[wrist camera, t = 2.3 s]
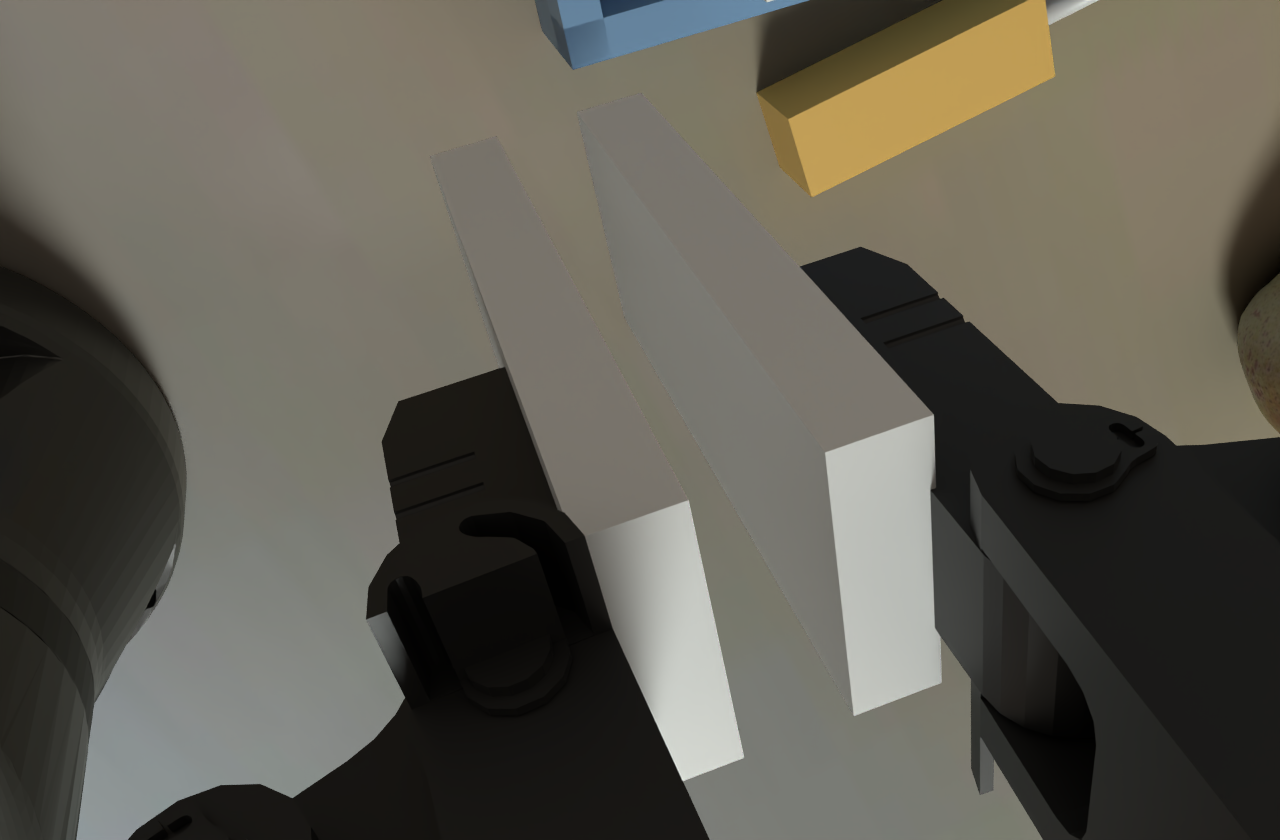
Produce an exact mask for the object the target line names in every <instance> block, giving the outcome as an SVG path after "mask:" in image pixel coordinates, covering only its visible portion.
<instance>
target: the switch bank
mask: <svg viewBox="0 0 1280 840" xmlns="http://www.w3.org/2000/svg"><path fill="white" fill-rule="evenodd" d="M805 1H808V0H773V1H770V2H765V1H764V0H535V3H536V7H537V11H538V15H539V19H540V23H541V28H542V31H543V33H544V34H545V35H546V36H547V38H548V39H549V40H550V41H551V43H552V44H553V45H554V46H555V48H556V49H557V50H558V51H559V53H560V54H561V55H562V57H563V58H564V59H565V60H566V62H567V63H568V64H569V65H570V67H571V68H572V69H573V70H574V69H577V68H581V67H584V66H588V65H591V64H594V63H598V62H601V61H605V60H608V59H611V58H615V57H618V56H622V55H625V54H628V53H632V52H635V51H639V50H642V49H645V48H649V47H652V46H656V45H659V44H662V43H666V42H669V41H673V40H676V39H679V38H683V37H686V36H689V35H693V34H696V33H700V32H703V31H706V30H710V29H713V28H717V27H720V26H723V25H727V24H730V23H734V22H737V21H740V20H744V19H747V18H751V17H754V16H757V15H761V14H764V13H768V12H771V11H774V10H778V9H781V8H785V7H788V6H791V5H795V4H798V3H802V2H805Z"/></svg>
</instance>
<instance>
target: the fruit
mask: <svg viewBox="0 0 1280 840" xmlns="http://www.w3.org/2000/svg"><path fill="white" fill-rule="evenodd" d="M1237 344H1238V353H1239V357H1240V362H1241V365H1242V368H1243V371H1244V374H1245V377H1246V379H1247V382H1248V385H1249V387H1250V390H1251V392H1252V395H1253V398H1254V400H1255V402H1256V404H1257V405H1258V407H1259V409H1260V411H1261V413H1262V414H1263V415H1264V417H1265V418H1266V419H1267V421H1268V422H1269V423H1270V424H1271V425H1272V426H1273V427H1274V428H1275V429H1276V430H1277V431H1278V432H1279V433H1280V273H1279V274H1278V275H1277V276H1276V277H1275V278H1274V279H1273V280H1272V281H1271V282H1270V283H1268V284H1267V285H1266V286H1265V287H1263V288H1262V289H1261V290H1260V291H1259V292H1258V293H1257V294H1256V295H1255V296H1254V298H1253V299H1252V300H1251V301H1250V303H1249V304H1248V306H1247V307H1246V309H1245V311H1244V312H1243V314H1242V315H1241V319H1240V323H1239V327H1238V340H1237Z"/></svg>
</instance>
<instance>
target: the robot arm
mask: <svg viewBox="0 0 1280 840" xmlns="http://www.w3.org/2000/svg"><path fill="white" fill-rule="evenodd" d="M577 115H578V120H579V124H580V128H581V133H582V137H583V141H584V145H585V150H586V154H587V158H588V163H589V167H590V171H591V176H592V180H593V184H594V189H595V193H596V197H597V201H598V206H599V210H600V214H601V219H602V223H603V227H604V232H605V236H606V240H607V245H608V249H609V253H610V257H611V262H612V266H613V270H614V275H615V279H616V283H617V288H618V292H619V296H620V300H621V305H622V309H623V313H624V318H625V319H626V321H627V323H628V325H629V326H630V328H631V330H632V332H633V333H634V335H635V337H636V338H637V340H638V342H639V344H640V345H641V347H642V349H643V351H644V352H645V354H646V356H647V358H648V359H649V361H650V363H651V365H652V366H653V368H654V370H655V372H656V373H657V375H658V377H659V378H660V380H661V382H662V384H663V385H664V387H665V389H666V391H667V392H668V394H669V396H670V398H671V399H672V401H673V403H674V405H675V406H676V408H677V410H678V411H679V413H680V415H681V417H682V418H683V420H684V422H685V424H686V425H687V427H688V429H689V431H690V432H691V434H692V436H693V438H694V439H695V441H696V443H697V445H698V446H699V448H700V450H701V451H702V453H703V455H704V457H705V458H706V460H707V462H708V464H709V465H710V467H711V469H712V471H713V472H714V474H715V476H716V478H717V479H718V481H719V483H720V484H721V486H722V488H723V490H724V491H725V493H726V495H727V497H728V498H729V500H730V502H731V504H732V505H733V507H734V509H735V511H736V512H737V514H738V516H739V517H740V519H741V521H742V523H743V524H744V526H745V528H746V530H747V531H748V533H749V535H750V537H751V538H752V540H753V542H754V544H755V545H756V547H757V549H758V551H759V552H760V554H761V556H762V557H763V559H764V561H765V563H766V564H767V566H768V568H769V570H770V571H771V573H772V575H773V577H774V578H775V580H776V582H777V584H778V585H779V587H780V589H781V590H782V592H783V594H784V596H785V597H786V599H787V601H788V603H789V604H790V606H791V608H792V610H793V611H794V613H795V615H796V617H797V618H798V620H799V622H800V624H801V625H802V627H803V629H804V630H805V632H806V634H807V636H808V637H809V639H810V641H811V643H812V644H813V646H814V648H815V650H816V651H817V653H818V655H819V657H820V658H821V660H822V662H823V663H824V665H825V667H826V669H827V670H828V672H829V674H830V676H831V677H832V679H833V681H834V683H835V684H836V686H837V688H838V690H839V691H840V693H841V695H842V696H843V698H844V700H845V702H846V703H847V705H848V707H849V709H850V710H851V712H852V714H853V716H855V715H858V714H860V713H863V712H866V711H868V710H871V709H874V708H876V707H879V706H882V705H884V704H887V703H889V702H892V701H895V700H897V699H900V698H903V697H905V696H908V695H910V694H913V693H916V692H918V691H921V690H924V689H926V688H929V687H931V686H934V685H937V684H939V683H942V676H941V642H940V636H941V637H942V639H943V640H944V642H945V643H946V645H947V646H948V647H949V649H950V650H951V652H952V653H953V654H954V656H955V657H956V659H957V660H958V661H959V663H960V664H961V666H962V667H963V668H964V670H965V671H966V673H967V674H968V675H969V677H970V678H971V769H972V772H973V775H974V778H975V781H976V784H977V787H978V790H979V793H980V795H981V794H984V793H987V792H990V791H993V777H994V760H995V761H996V763H997V765H998V766H999V768H1000V770H1001V771H1002V773H1003V774H1004V776H1005V778H1006V779H1007V781H1008V783H1009V784H1010V786H1011V788H1012V789H1013V791H1014V792H1015V794H1016V796H1017V797H1018V799H1019V801H1020V802H1021V804H1022V806H1023V807H1024V809H1025V810H1026V812H1027V814H1028V815H1029V817H1030V819H1031V820H1032V822H1033V824H1034V825H1035V827H1036V829H1037V830H1038V832H1039V833H1040V835H1041V837H1042V838H1043V840H1280V437H1278V438H1268V439H1258V440H1248V441H1238V442H1228V443H1218V444H1208V445H1184V446H1176V445H1175V444H1174V443H1173V442H1172V441H1171V440H1169V439H1168V438H1167V437H1166V436H1165V435H1163V434H1162V433H1160V432H1159V431H1157V430H1156V429H1154V428H1153V427H1151V426H1150V425H1148V424H1146V423H1145V422H1143V421H1142V420H1140V419H1139V418H1137V417H1135V416H1132V415H1128V414H1125V413H1122V412H1118V411H1115V410H1112V409H1109V408H1105V407H1102V406H1096V405H1080V404H1064V403H1057V402H1056V401H1055V400H1054V399H1053V398H1052V397H1051V396H1050V395H1049V394H1048V393H1047V392H1045V391H1044V390H1043V389H1042V388H1041V387H1040V386H1039V385H1038V384H1037V383H1036V382H1035V381H1034V380H1032V379H1031V378H1030V377H1029V376H1028V375H1027V374H1026V373H1025V372H1024V371H1023V370H1022V369H1020V368H1019V367H1018V366H1017V365H1016V364H1015V363H1014V362H1013V361H1012V360H1011V359H1010V358H1008V357H1007V356H1006V355H1005V354H1004V353H1003V352H1002V351H1001V350H1000V349H999V348H998V347H997V346H995V345H994V344H993V343H992V342H991V341H990V340H989V339H988V338H987V337H986V336H985V335H983V334H982V333H981V332H980V331H979V330H978V329H977V328H976V327H975V326H974V325H973V324H972V323H970V322H966V323H965V322H964V319H963V315H962V314H961V313H960V312H958V311H957V310H956V309H955V308H954V307H953V306H952V305H951V304H950V303H949V302H948V301H947V300H945V299H944V298H942V299H940V298H939V296H938V292H937V291H936V290H935V289H933V288H932V287H931V286H930V285H929V284H928V283H927V282H926V281H925V280H924V279H923V278H921V277H920V276H919V275H918V274H917V273H916V272H915V271H914V270H913V269H912V268H911V267H910V266H908V265H907V264H905V263H902V262H900V261H897V260H894V259H892V258H889V257H886V256H884V255H881V254H878V253H876V252H873V251H870V250H868V249H865V248H862V247H859V248H855V249H852V250H849V251H846V252H843V253H840V254H837V255H834V256H831V257H828V258H825V259H822V260H819V261H816V262H812V263H809V264H806V265H803V266H800V267H799V266H798V264H797V263H796V262H795V261H794V260H793V259H792V258H791V257H790V256H789V255H788V253H787V252H786V251H785V250H784V249H783V248H782V247H781V246H780V245H779V244H778V242H777V241H776V240H775V239H774V238H773V237H772V236H771V235H770V234H769V233H768V231H767V230H766V229H765V228H764V227H763V226H762V225H761V224H760V223H759V222H758V220H757V219H756V218H755V217H754V216H753V215H752V214H751V213H750V212H749V211H748V209H747V208H746V207H745V206H744V205H743V204H742V203H741V202H740V201H739V199H738V198H737V197H736V196H735V195H734V194H733V193H732V192H731V191H730V190H729V188H728V187H727V186H726V185H725V184H724V183H723V182H722V181H721V180H720V179H719V177H718V176H717V175H716V174H715V173H714V172H713V171H712V170H711V169H710V168H709V166H708V165H707V164H706V163H705V162H704V161H703V160H702V159H701V158H700V157H699V155H698V154H697V153H696V152H695V151H694V150H693V149H692V148H691V147H690V146H689V144H688V143H687V142H686V141H685V140H684V139H683V138H682V137H681V136H680V135H679V133H678V132H677V131H676V130H675V129H674V128H673V127H672V126H671V125H670V124H669V122H668V121H667V120H666V119H665V118H664V117H663V116H662V115H661V114H660V113H659V111H658V110H657V109H656V108H655V107H654V106H653V105H652V104H651V103H650V101H649V100H648V99H647V98H646V97H645V96H644V95H643V94H642V93H638V94H635V95H632V96H628V97H625V98H622V99H618V100H615V101H612V102H608V103H605V104H602V105H598V106H595V107H592V108H588V109H585V110H582V111H578V112H577ZM430 158H431V161H432V165H433V168H434V171H435V174H436V177H437V180H438V183H439V186H440V189H441V192H442V195H443V198H444V201H445V204H446V207H447V211H448V214H449V217H450V220H451V223H452V226H453V229H454V232H455V235H456V238H457V241H458V244H459V247H460V250H461V253H462V256H463V260H464V263H465V266H466V269H467V272H468V275H469V278H470V281H471V284H472V287H473V290H474V293H475V296H476V299H477V302H478V306H479V309H480V312H481V315H482V318H483V321H484V324H485V327H486V330H487V333H488V336H489V339H490V342H491V345H492V348H493V351H494V355H495V358H496V361H497V363H498V366H499V369H496V370H493V371H490V372H487V373H484V374H481V375H478V376H475V377H472V378H469V379H466V380H463V381H460V382H456V383H453V384H450V385H447V386H444V387H441V388H438V389H435V390H432V391H429V392H426V393H423V394H420V395H417V396H414V397H410V398H407V399H404V400H401V401H398V404H397V406H396V409H395V411H394V413H393V416H392V418H391V421H390V423H389V425H388V428H387V430H386V433H385V435H384V437H383V440H382V446H383V452H384V458H385V463H386V469H387V475H388V480H389V483H390V486H391V487H390V491H391V497H392V503H393V508H394V513H395V516H396V519H397V520H396V525H397V531H398V537H399V542H400V544H398V545H397V546H396V547H395V548H394V549H393V550H392V551H391V552H390V553H389V554H387V555H386V557H385V559H384V561H383V563H382V564H381V566H380V568H379V570H378V571H377V573H376V575H375V577H374V578H373V580H372V582H371V584H370V586H369V588H368V601H367V615H366V620H367V622H368V624H369V626H370V628H371V630H372V632H373V634H374V636H375V638H376V640H377V642H378V644H379V646H380V648H381V650H382V652H383V654H384V656H385V658H386V660H387V662H388V664H389V666H390V668H391V670H392V672H393V674H394V676H395V678H396V680H397V682H398V684H399V686H400V688H401V690H402V692H403V694H404V696H405V699H404V701H403V702H402V704H401V706H400V708H399V710H398V711H397V713H396V715H395V716H394V717H393V718H392V719H391V721H390V722H389V723H388V724H387V725H386V726H385V727H384V729H383V730H382V731H381V732H380V733H379V734H378V736H377V737H376V738H375V739H374V740H373V741H371V742H370V743H369V744H368V745H367V746H365V747H364V748H363V749H362V750H360V751H359V752H358V753H357V754H355V755H354V756H353V757H352V758H350V759H349V760H348V761H347V762H345V763H344V764H342V765H341V766H339V767H338V768H336V769H335V770H333V771H332V772H330V773H329V774H328V775H326V776H325V777H323V778H322V779H320V780H319V781H317V782H316V783H314V784H313V785H311V786H310V787H308V788H307V789H305V790H304V791H302V792H301V793H300V794H298V795H297V796H295V797H294V798H290V797H288V796H286V795H284V794H281V793H279V792H277V791H275V790H272V789H270V788H268V787H266V786H263V785H261V784H249V785H220V786H217V787H215V788H212V789H209V790H207V791H204V792H201V793H198V794H196V795H193V796H190V797H187V798H185V799H182V800H179V801H177V802H176V803H174V804H173V805H171V806H170V807H169V808H167V809H166V810H164V811H163V812H161V813H160V814H158V815H157V816H156V817H154V818H153V819H151V820H150V821H148V822H147V823H146V824H144V825H143V826H141V827H140V828H138V829H137V830H136V831H135V832H134V833H133V834H132V836H131V837H130V838H129V839H128V840H709V837H708V835H707V833H706V831H705V829H704V827H703V824H702V822H701V820H700V818H699V816H698V813H697V811H696V809H695V807H694V805H693V803H692V800H691V798H690V796H689V794H688V792H687V789H686V787H685V785H684V783H683V781H684V780H687V779H690V778H692V777H695V776H698V775H700V774H703V773H705V772H708V771H711V770H713V769H716V768H719V767H721V766H724V765H726V764H729V763H732V762H734V761H737V760H740V759H742V758H744V755H743V750H742V746H741V741H740V736H739V732H738V727H737V722H736V718H735V713H734V709H733V704H732V699H731V695H730V690H729V685H728V681H727V676H726V671H725V667H724V662H723V658H722V653H721V648H720V644H719V639H718V634H717V630H716V625H715V621H714V616H713V611H712V607H711V602H710V597H709V593H708V588H707V583H706V579H705V574H704V570H703V565H702V560H701V556H700V551H699V546H698V542H697V537H696V533H695V528H694V523H693V519H692V514H691V509H690V505H689V500H688V498H687V496H686V494H685V493H684V491H683V489H682V487H681V485H680V483H679V481H678V479H677V477H676V475H675V474H674V472H673V470H672V468H671V466H670V464H669V462H668V460H667V458H666V456H665V455H664V453H663V451H662V449H661V447H660V445H659V443H658V441H657V439H656V437H655V436H654V434H653V432H652V430H651V428H650V426H649V424H648V422H647V420H646V419H645V417H644V415H643V413H642V411H641V409H640V407H639V405H638V403H637V401H636V400H635V398H634V396H633V394H632V392H631V390H630V388H629V386H628V384H627V382H626V381H625V379H624V377H623V375H622V373H621V371H620V369H619V367H618V365H617V363H616V362H615V360H614V358H613V356H612V354H611V352H610V350H609V348H608V346H607V345H606V343H605V341H604V339H603V337H602V335H601V333H600V331H599V329H598V327H597V326H596V324H595V322H594V320H593V318H592V316H591V314H590V312H589V310H588V308H587V307H586V305H585V303H584V301H583V299H582V297H581V295H580V293H579V291H578V289H577V288H576V286H575V284H574V282H573V280H572V278H571V276H570V274H569V272H568V271H567V269H566V267H565V265H564V263H563V261H562V259H561V257H560V255H559V253H558V252H557V250H556V248H555V246H554V244H553V242H552V240H551V238H550V236H549V234H548V233H547V231H546V229H545V227H544V225H543V223H542V221H541V219H540V217H539V215H538V214H537V212H536V210H535V208H534V206H533V204H532V202H531V200H530V198H529V197H528V195H527V193H526V191H525V189H524V187H523V185H522V183H521V181H520V179H519V178H518V176H517V174H516V172H515V170H514V168H513V166H512V164H511V162H510V160H509V159H508V157H507V155H506V153H505V151H504V149H503V147H502V145H501V143H500V141H499V140H498V138H497V136H495V137H492V138H488V139H485V140H482V141H478V142H475V143H472V144H468V145H465V146H462V147H458V148H455V149H452V150H448V151H445V152H442V153H438V154H435V155H432V156H430ZM185 500H186V463H185V455H184V450H183V445H182V441H181V438H180V434H179V431H178V428H177V425H176V423H175V420H174V418H173V415H172V413H171V410H170V409H169V407H168V405H167V403H166V401H165V399H164V397H163V395H162V393H161V392H160V390H159V389H158V387H157V385H156V384H155V382H154V381H153V379H152V378H151V377H150V375H149V374H148V373H147V371H146V370H145V369H144V367H143V366H142V365H141V364H140V362H139V361H138V360H137V359H136V358H135V357H134V356H133V354H132V353H131V352H130V351H129V350H128V349H127V348H126V347H125V346H124V345H123V344H122V343H121V342H120V341H119V340H118V339H117V338H116V337H115V336H114V335H113V334H111V333H110V332H109V331H108V330H107V329H106V328H104V327H103V326H102V325H101V324H100V323H99V322H97V321H96V320H95V319H93V318H92V317H91V316H89V315H88V314H87V313H85V312H84V311H83V310H81V309H80V308H78V307H77V306H75V305H74V304H72V303H71V302H69V301H67V300H66V299H64V298H63V297H61V296H59V295H58V294H56V293H54V292H52V291H51V290H49V289H47V288H45V287H44V286H42V285H40V284H38V283H36V282H34V281H32V280H30V279H28V278H26V277H24V276H22V275H19V274H17V273H15V272H12V271H10V270H7V269H5V268H3V267H0V840H76V837H77V830H78V822H79V814H80V807H81V799H82V792H83V784H84V776H85V769H86V761H87V753H88V743H89V737H90V730H91V723H92V716H93V708H94V703H95V702H96V700H97V698H98V697H99V695H100V693H101V691H102V690H103V688H104V686H105V684H106V682H107V680H108V678H109V676H110V674H111V672H112V670H113V668H114V666H115V664H116V662H117V661H118V659H119V657H120V655H121V653H122V652H123V650H124V648H125V646H126V644H127V643H128V642H129V641H130V640H131V639H132V638H133V637H134V636H135V635H136V633H137V632H138V631H139V630H140V629H141V627H142V626H143V625H144V624H145V622H146V621H147V620H148V618H149V617H150V615H151V613H152V612H153V610H154V609H155V607H156V606H157V604H158V603H159V601H160V599H161V597H162V596H163V594H164V592H165V590H166V588H167V586H168V584H169V581H170V579H171V576H172V574H173V571H174V568H175V565H176V562H177V558H178V555H179V552H180V547H181V542H182V537H183V527H184V514H185Z"/></svg>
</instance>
